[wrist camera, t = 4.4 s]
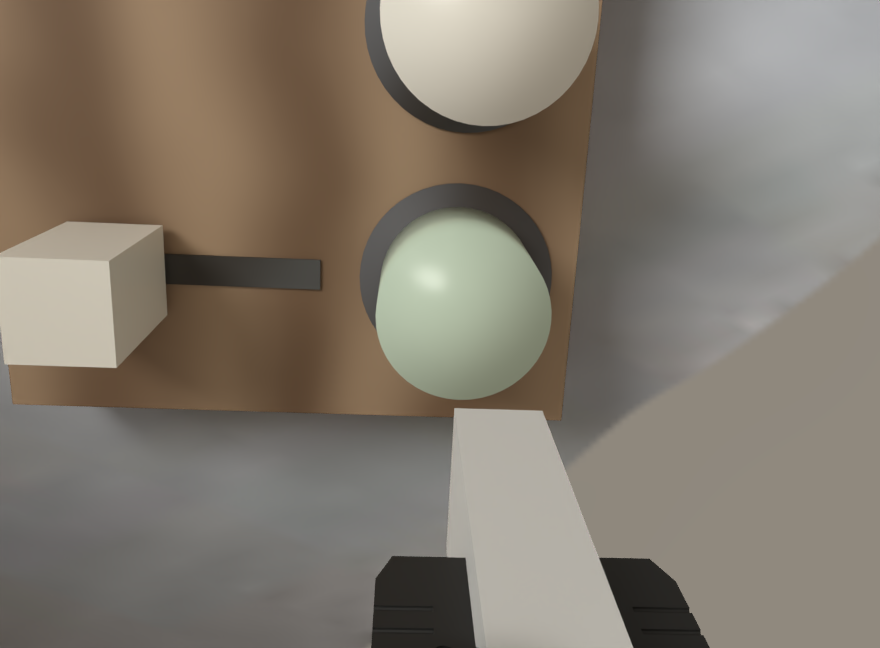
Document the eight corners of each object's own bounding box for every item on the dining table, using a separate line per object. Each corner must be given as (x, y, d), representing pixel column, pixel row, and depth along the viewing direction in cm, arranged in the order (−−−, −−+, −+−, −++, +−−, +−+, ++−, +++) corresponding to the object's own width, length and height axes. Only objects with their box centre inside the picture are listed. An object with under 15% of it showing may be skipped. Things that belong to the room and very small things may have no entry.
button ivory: (382, 111, 23) (377, 121, 20) (387, -85, 22) (382, -115, 18) (559, 119, 24) (587, 130, 20) (576, -74, 22) (610, -102, 18)
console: (59, 364, 33) (11, 405, 29) (-19, -461, 25) (-100, -558, 21) (543, 379, 33) (561, 421, 29) (615, -412, 26) (652, -497, 22)
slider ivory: (75, 311, 27) (4, 364, 23) (67, 221, 27) (-9, 256, 22) (167, 314, 28) (116, 367, 23) (162, 225, 27) (108, 260, 22)
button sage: (378, 351, 28) (373, 397, 24) (382, 203, 27) (377, 227, 23) (525, 356, 28) (543, 402, 25) (538, 210, 27) (559, 234, 23)
